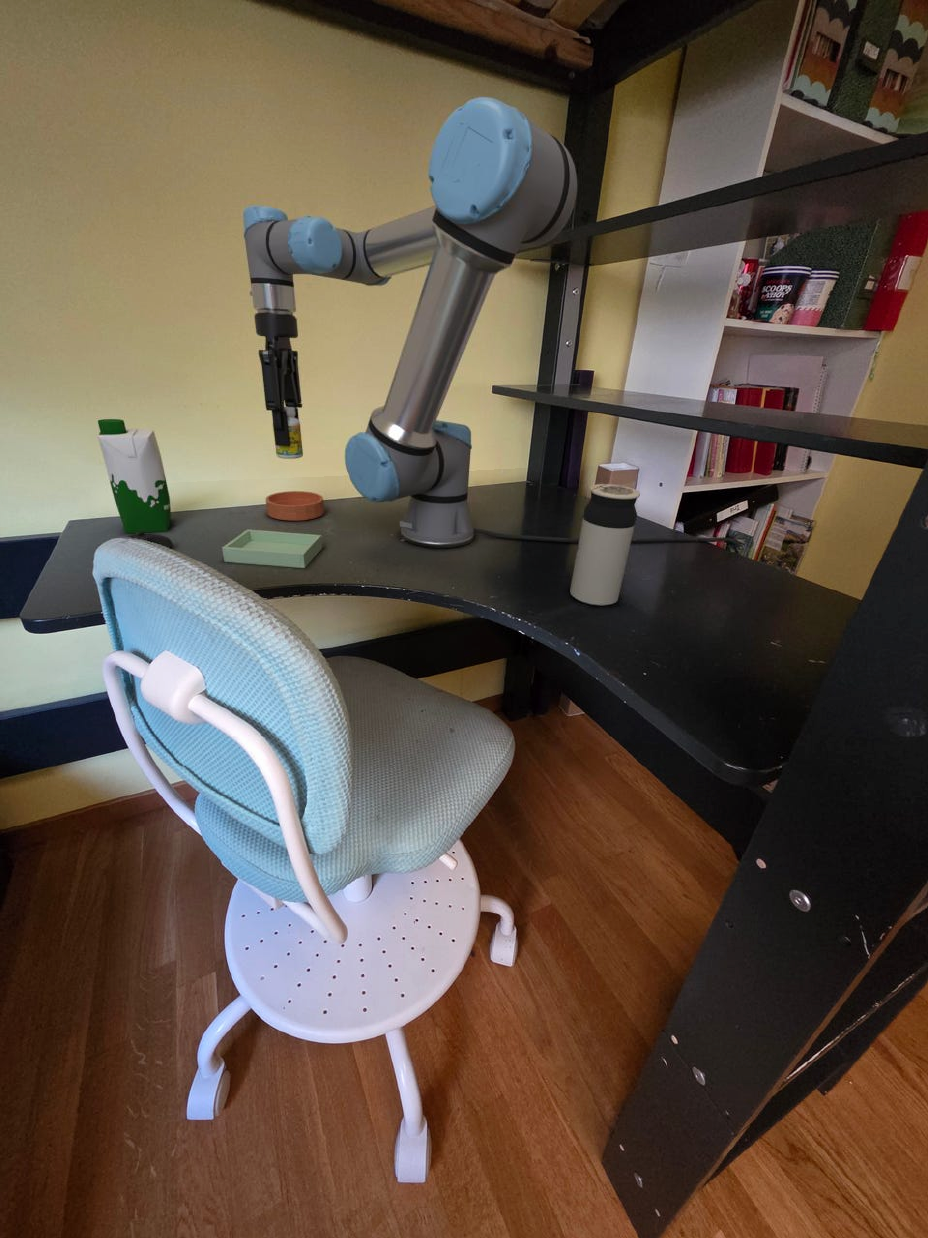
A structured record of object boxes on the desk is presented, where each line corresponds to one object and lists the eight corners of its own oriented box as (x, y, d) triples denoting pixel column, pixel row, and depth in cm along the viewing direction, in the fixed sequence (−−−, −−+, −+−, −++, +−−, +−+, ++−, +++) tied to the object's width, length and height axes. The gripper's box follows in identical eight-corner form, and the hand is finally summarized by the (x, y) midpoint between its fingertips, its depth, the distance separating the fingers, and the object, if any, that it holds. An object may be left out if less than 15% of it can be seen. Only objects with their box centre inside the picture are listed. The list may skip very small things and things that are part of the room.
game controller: (139, 561, 84) (109, 534, 83) (124, 580, 87) (94, 553, 85) (177, 542, 93) (150, 517, 91) (162, 559, 95) (136, 535, 94)
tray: (322, 548, 98) (321, 535, 97) (304, 568, 89) (303, 554, 88) (249, 542, 98) (247, 529, 97) (224, 561, 89) (221, 547, 88)
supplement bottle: (298, 453, 111) (294, 405, 106) (306, 458, 107) (302, 408, 102) (273, 454, 108) (267, 406, 104) (280, 459, 104) (274, 409, 100)
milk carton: (127, 521, 104) (100, 416, 95) (177, 519, 107) (155, 417, 98) (119, 535, 97) (89, 424, 88) (173, 532, 100) (150, 424, 91)
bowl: (330, 508, 121) (329, 493, 119) (314, 523, 110) (312, 507, 108) (279, 504, 121) (278, 489, 120) (258, 519, 110) (256, 503, 109)
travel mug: (626, 598, 86) (651, 492, 78) (600, 611, 81) (624, 499, 73) (586, 582, 91) (606, 481, 83) (560, 594, 86) (578, 487, 78)
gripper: (275, 315, 104) (287, 435, 114) (232, 308, 87) (251, 449, 98) (311, 317, 103) (320, 437, 114) (275, 310, 87) (289, 451, 98)
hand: (288, 442), depth 106 cm, fingers closed on supplement bottle, 5 cm apart
